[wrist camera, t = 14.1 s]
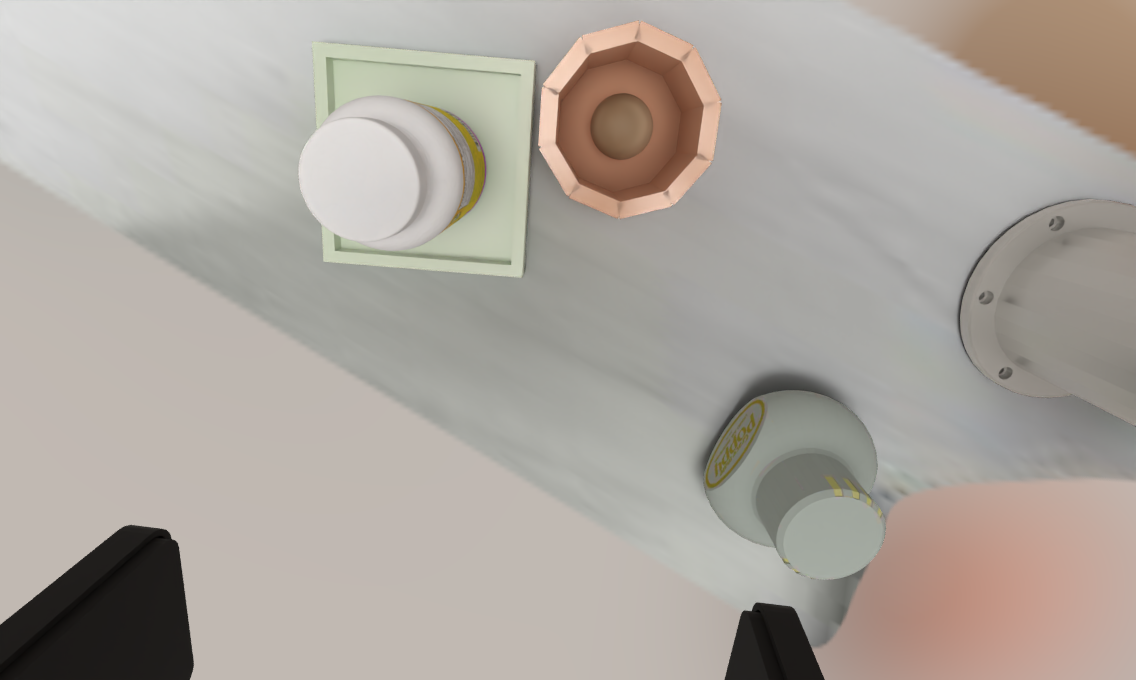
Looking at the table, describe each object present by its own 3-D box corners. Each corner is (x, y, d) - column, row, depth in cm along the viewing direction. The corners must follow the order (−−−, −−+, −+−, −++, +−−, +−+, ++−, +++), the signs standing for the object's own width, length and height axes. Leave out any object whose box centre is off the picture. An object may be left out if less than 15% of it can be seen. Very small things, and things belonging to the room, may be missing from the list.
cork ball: (652, 98, 33) (661, 93, 30) (645, 161, 34) (652, 163, 31) (592, 93, 33) (594, 87, 30) (587, 156, 34) (588, 157, 31)
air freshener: (767, 356, 39) (830, 425, 29) (869, 410, 40) (960, 493, 31) (681, 483, 42) (713, 582, 32) (777, 529, 43) (835, 638, 34)
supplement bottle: (377, 220, 36) (275, 260, 23) (374, 102, 34) (260, 79, 21) (488, 228, 36) (443, 273, 24) (492, 112, 34) (445, 95, 21)
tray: (536, 64, 33) (534, 60, 32) (524, 272, 37) (522, 277, 36) (323, 46, 33) (311, 41, 32) (333, 256, 37) (323, 261, 35)
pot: (701, 51, 33) (733, 28, 26) (679, 210, 36) (703, 225, 29) (552, 38, 33) (546, 12, 26) (541, 198, 36) (534, 211, 29)
